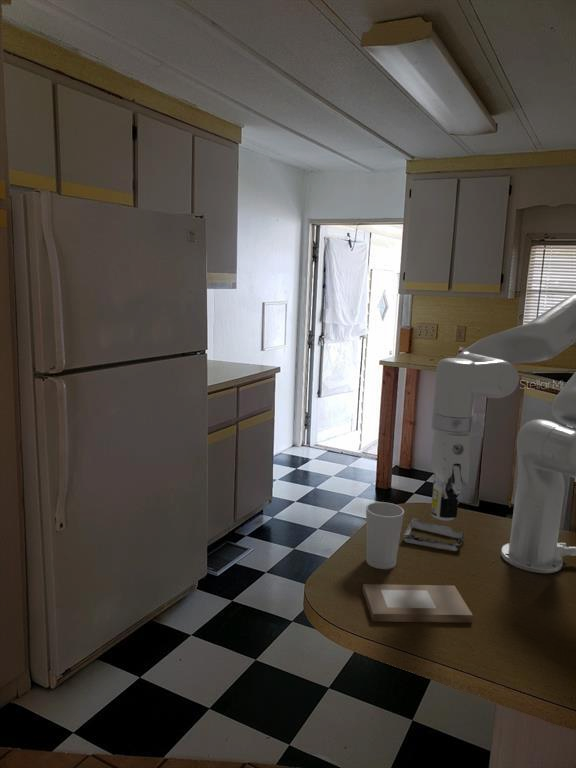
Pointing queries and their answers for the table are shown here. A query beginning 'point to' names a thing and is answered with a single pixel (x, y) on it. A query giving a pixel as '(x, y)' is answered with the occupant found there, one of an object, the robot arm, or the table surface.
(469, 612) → the board
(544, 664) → the table surface
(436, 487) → the supplement bottle
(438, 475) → the robot arm
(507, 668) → the table surface
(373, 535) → the cup
